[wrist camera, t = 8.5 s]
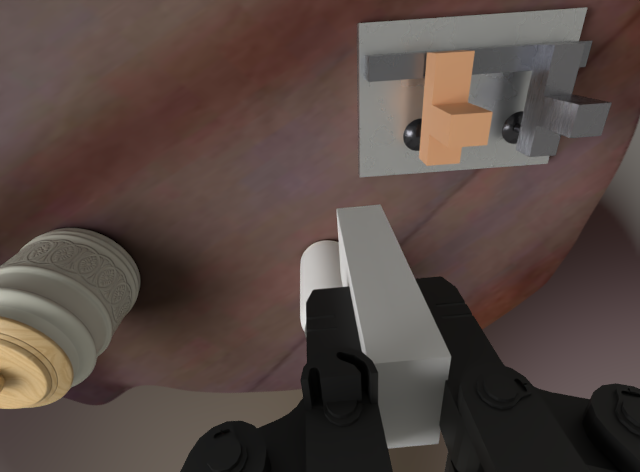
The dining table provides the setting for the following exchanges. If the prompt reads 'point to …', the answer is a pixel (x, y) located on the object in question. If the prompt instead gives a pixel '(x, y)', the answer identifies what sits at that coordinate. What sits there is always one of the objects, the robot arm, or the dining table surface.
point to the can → (318, 272)
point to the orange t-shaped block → (450, 109)
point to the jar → (60, 312)
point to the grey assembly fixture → (475, 87)
